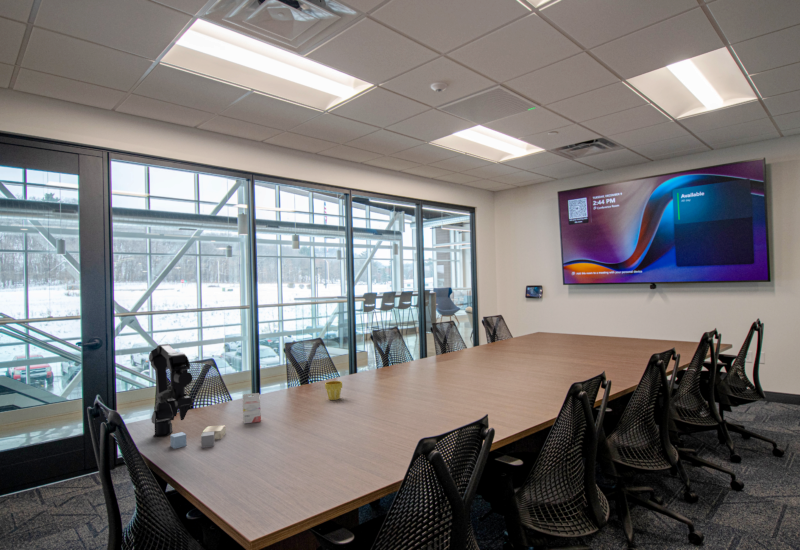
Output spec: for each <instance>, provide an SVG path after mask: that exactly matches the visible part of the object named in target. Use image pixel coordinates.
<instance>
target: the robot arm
mask: <svg viewBox="0 0 800 550" xmlns="http://www.w3.org/2000/svg"><path fill="white" fill-rule="evenodd" d="M148 360H149V362H150V366H151V367H152V368H153V370H154V372H155V373H154V374H155V385H156V386H155V387H156V395H155V398H156V401H157V402H156V403H155V405H154V407H153V409H154V410H153V412H152V415H151V418H150V420H151V423H152V424H154V434H153V435H152V436H153V437H167V436H169V435H171V434H173V432H174V430H173V423H172V421H174V420H175V417H177V415H178V414H179V418H180V421H184V420H185V417H186V416H187V413H188V411H189V410H190V407H191V406H192V405H193V402H194V399H193V397H191V396H188V395H187V394H188V393H186V387H187V386H188V385H190V384H191V383H192V381H193V375H192V373H191V372H189V371H188V370H190V369H191V363H190V361H189V358H188V356H187V355H186V354H185V353H184V352H177V351H176V350H175V349H174V348H172V345H171V344H169V343H164V344H158V345H157V346H156V348H153V349H152V350H151V351H150V353H149V356H148ZM167 368H168V370H169V372H170V373H169V375H170V376H169V378H170V379H169V380H170V381H169V382H170V384H169V385H168V380H167V377H168V375H167Z"/></svg>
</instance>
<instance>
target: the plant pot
mask: <svg viewBox="0 0 800 550" xmlns="http://www.w3.org/2000/svg"><path fill="white" fill-rule="evenodd" d="M324 389H325V390H326V393H327V394H326V395H327V398H328V400H331V401H336V400H339V399H340V398H341V392H342V389H343V382H342V381H341V380H331V381H327V382H325V383H324Z"/></svg>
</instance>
